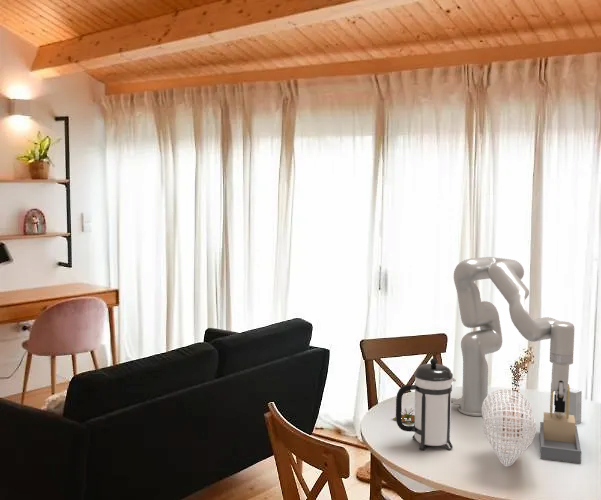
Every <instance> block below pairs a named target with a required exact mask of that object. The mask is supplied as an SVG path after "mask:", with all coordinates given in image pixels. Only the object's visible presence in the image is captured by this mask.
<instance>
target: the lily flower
mask: <svg viewBox="0 0 601 500" xmlns="http://www.w3.org/2000/svg"><path fill="white" fill-rule="evenodd" d="M413 411H414V409H411V410H410V411H409V412H408V411H407V408H404V411H403V412H402V413H401V418H402V419H401V420H402V423H403V422H404V423H405V424H407V425H408V426H411V425H412V424H414V422H415V414H414V412H413ZM404 418H407V419H404ZM409 418H411V420H410V419H409ZM392 420H395V421H396V416H395V417H393V418H392ZM405 420H406V422H405ZM408 421H409V422H410V423H409V422H408ZM411 421H412V422H411ZM407 422H408V423H407Z"/></svg>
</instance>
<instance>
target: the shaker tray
mask: <svg viewBox="0 0 601 500" xmlns="http://www.w3.org/2000/svg"><path fill="white" fill-rule="evenodd" d="M542 419H543V420H542V421H541V422H540V423H539V424H540V425H539V426H540V427H539V439H540V440H539V442H540V443H539V445H540V446H539V447H540V448H539V450H540V451H539V452H540V459H542V460H548V461H549V460H550V461H557V462H564V463H572V464H579V465H580V464H581V463H582V462H581V461H582V459H581V458H582V449H581V444H580V442H581V441H580V438H579V432H578V428H577V427H578V426H577V425H576V424H575V418H574V415H569V418H568V419H566V414H564V416H563V417H562V418H558V417H556V416H555V414H554V412H552V418H551V417H550V412H545V411H543V418H542Z"/></svg>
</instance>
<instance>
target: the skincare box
mask: <svg viewBox="0 0 601 500" xmlns="http://www.w3.org/2000/svg"><path fill="white" fill-rule="evenodd" d="M569 388H570V387H569ZM566 396H567V392H566V393H565V414H566ZM582 397H583V396H582V390H580V389H574V388H570V394H569V415H574V418H575V425H579V424H580V423H582Z"/></svg>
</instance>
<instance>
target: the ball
mask: <svg viewBox="0 0 601 500" xmlns="http://www.w3.org/2000/svg"><path fill="white" fill-rule="evenodd" d="M553 413H554V414H555V416H556V417H558V414H559V412H555V410H554V411H553ZM564 414H565V412H564V413H562V412H561V413H560V418H562V417H563V416H564Z"/></svg>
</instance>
